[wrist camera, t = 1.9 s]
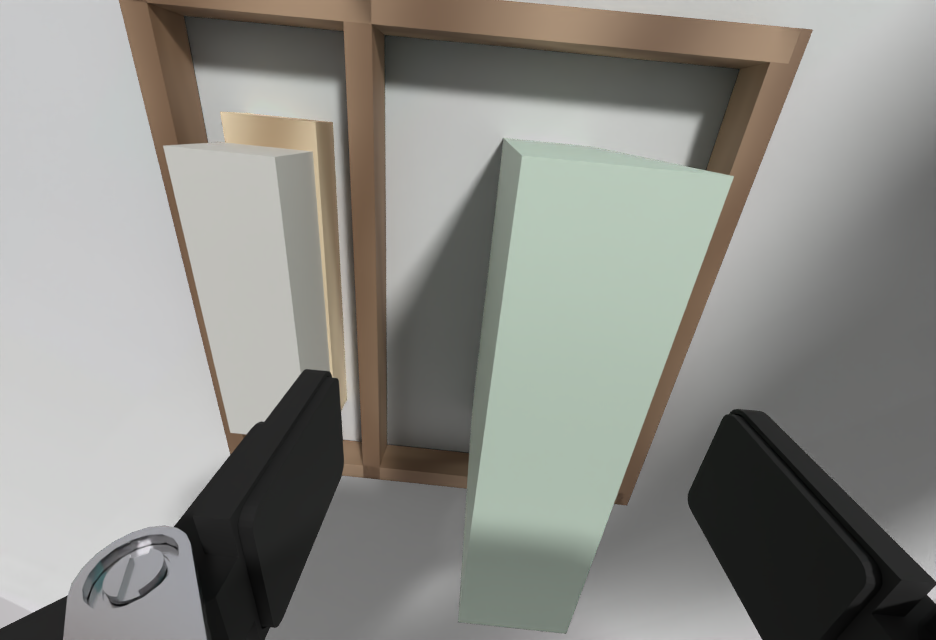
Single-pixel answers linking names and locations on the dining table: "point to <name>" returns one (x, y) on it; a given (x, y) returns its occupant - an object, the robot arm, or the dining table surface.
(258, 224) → the grey offcut
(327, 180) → the pine offcut
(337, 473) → the robot arm
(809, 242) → the dining table surface
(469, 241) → the dining table surface
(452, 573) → the dining table surface
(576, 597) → the sage panel
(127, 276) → the dining table surface
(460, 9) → the rack
